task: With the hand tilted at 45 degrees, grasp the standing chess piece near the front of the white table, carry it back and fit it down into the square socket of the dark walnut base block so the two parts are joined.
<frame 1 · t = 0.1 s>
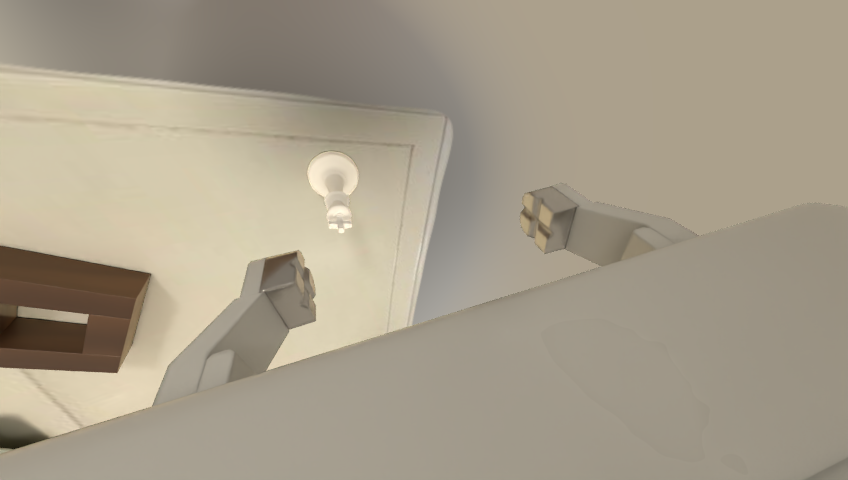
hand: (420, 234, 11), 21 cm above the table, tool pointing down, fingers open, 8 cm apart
chess piece: (333, 174, 30), on the table
socket block: (63, 302, 30), on the table
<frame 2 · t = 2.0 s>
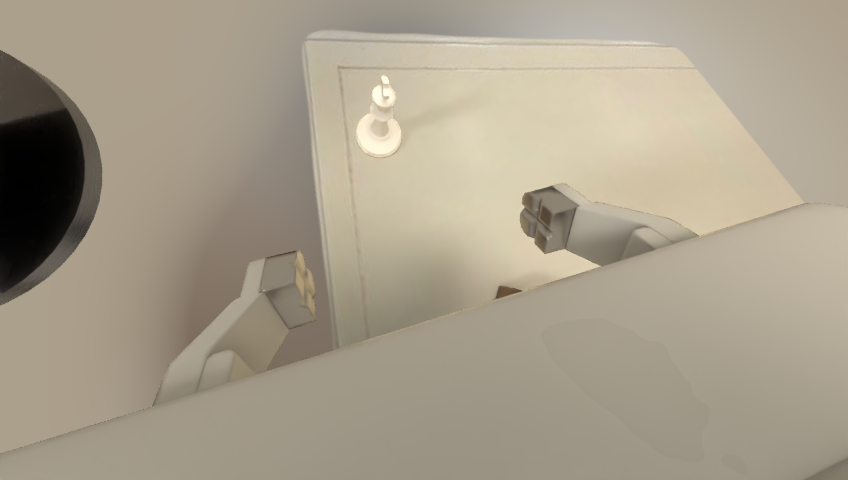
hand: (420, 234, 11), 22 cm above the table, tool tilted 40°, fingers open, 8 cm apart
chess piece: (378, 136, 33), on the table
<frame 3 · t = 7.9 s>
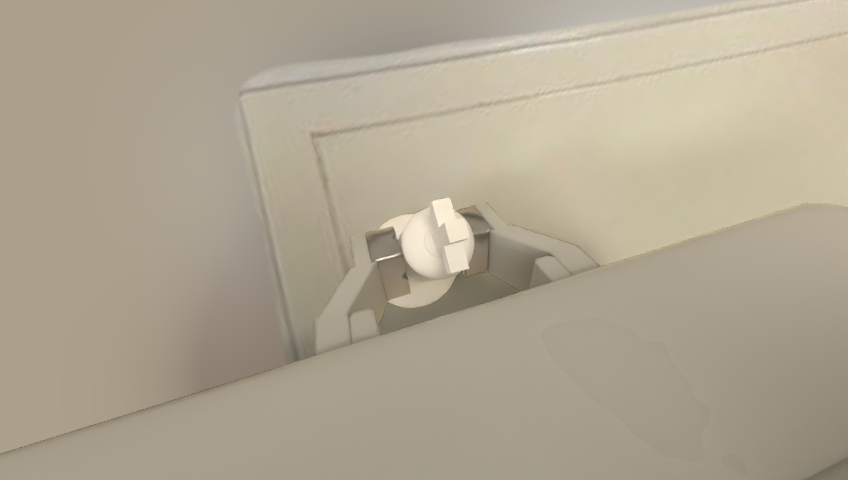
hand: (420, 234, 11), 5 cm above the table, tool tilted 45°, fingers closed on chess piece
chess piece: (411, 260, 16), on the table, touching gripper
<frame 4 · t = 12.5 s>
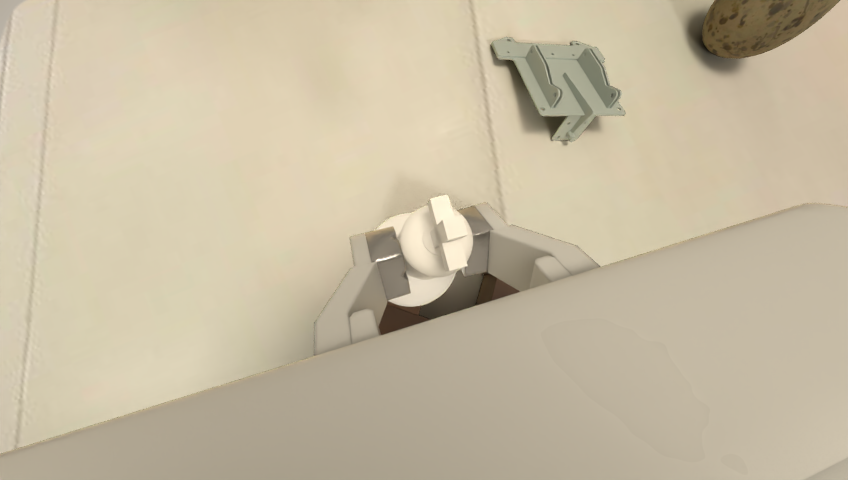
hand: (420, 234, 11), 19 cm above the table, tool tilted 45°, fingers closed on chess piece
metal bracket: (551, 93, 38), on the table
decorative egg: (708, 46, 45), on the table
chess piece: (410, 259, 16), point 14 cm above the table, touching gripper
socket block: (449, 293, 30), on the table
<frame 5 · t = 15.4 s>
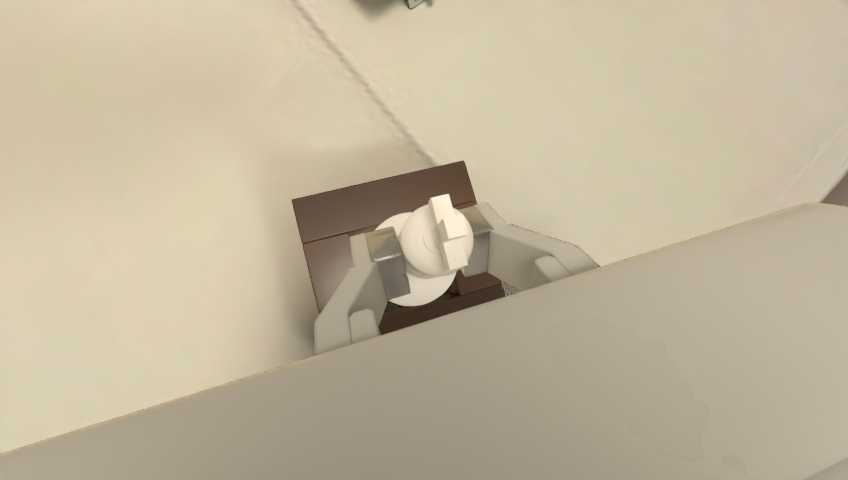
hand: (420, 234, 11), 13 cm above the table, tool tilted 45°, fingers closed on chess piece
chess piece: (411, 259, 16), point 7 cm above the table, touching gripper
socket block: (402, 266, 23), on the table
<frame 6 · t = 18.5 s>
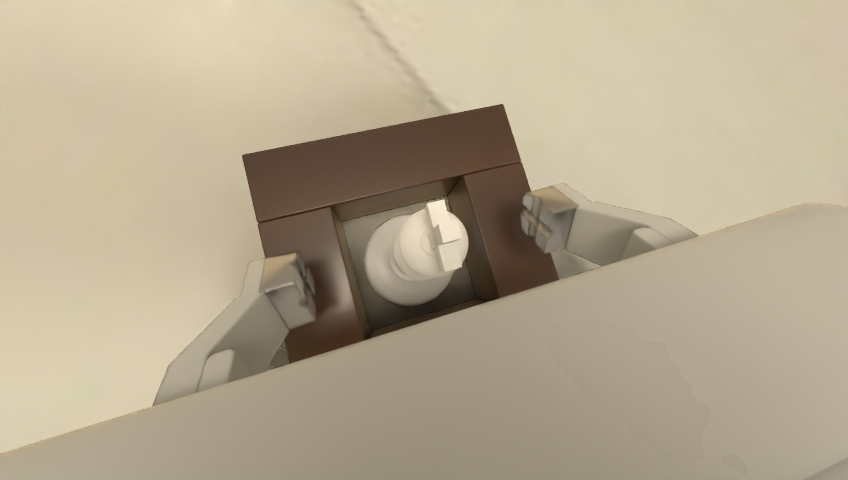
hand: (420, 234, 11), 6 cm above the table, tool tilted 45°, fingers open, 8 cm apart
chess piece: (409, 259, 17), resting in socket block
socket block: (410, 260, 16), on the table
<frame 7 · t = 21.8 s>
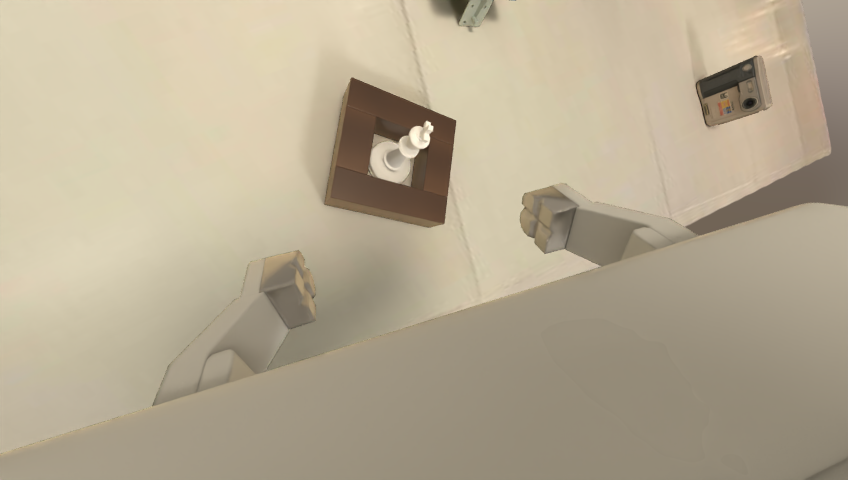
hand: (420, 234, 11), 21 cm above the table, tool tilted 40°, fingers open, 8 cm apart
chess piece: (388, 164, 34), resting in socket block
socket block: (388, 164, 34), on the table
camera: (703, 104, 71), on the table
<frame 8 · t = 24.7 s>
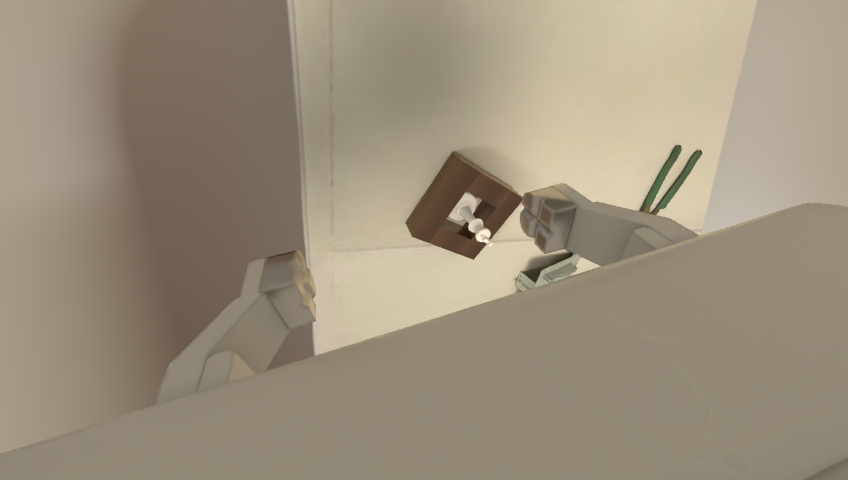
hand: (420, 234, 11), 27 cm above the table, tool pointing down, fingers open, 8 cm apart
metal bracket: (544, 274, 62), on the table
pliers: (654, 195, 57), on the table
chess piece: (459, 204, 45), resting in socket block
socket block: (459, 204, 45), on the table
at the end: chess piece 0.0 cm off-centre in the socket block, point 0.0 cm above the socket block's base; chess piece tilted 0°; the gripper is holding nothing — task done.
